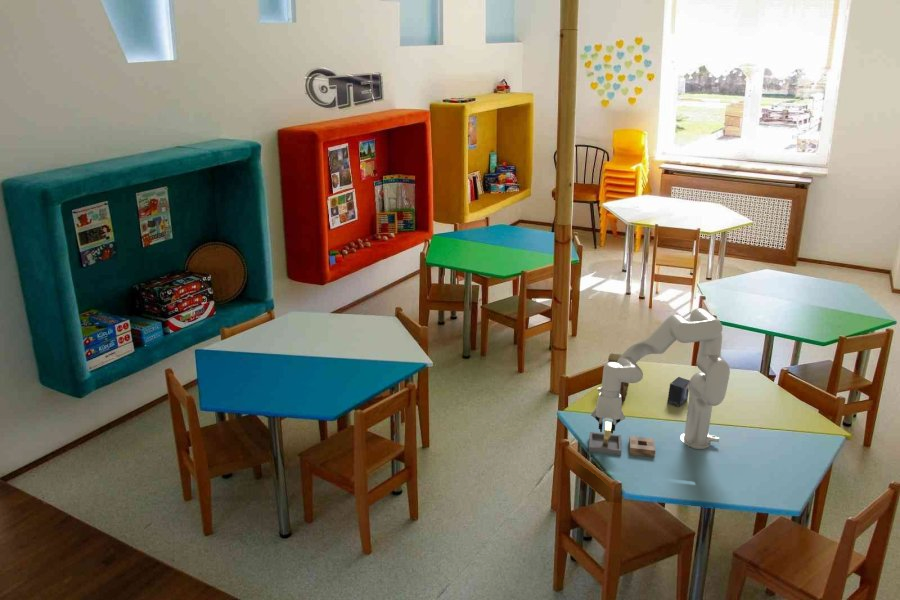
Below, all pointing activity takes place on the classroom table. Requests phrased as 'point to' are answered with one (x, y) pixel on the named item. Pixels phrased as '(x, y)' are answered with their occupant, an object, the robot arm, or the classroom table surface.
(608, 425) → the t key
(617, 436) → the tray
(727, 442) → the classroom table surface
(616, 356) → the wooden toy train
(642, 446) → the socket block
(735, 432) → the classroom table surface
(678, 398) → the small box
